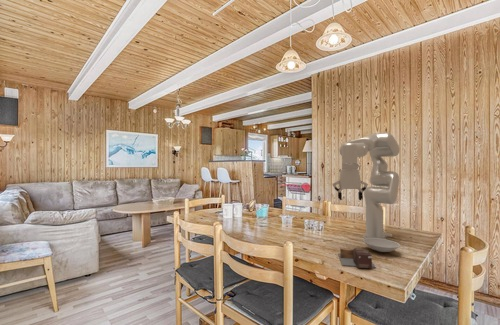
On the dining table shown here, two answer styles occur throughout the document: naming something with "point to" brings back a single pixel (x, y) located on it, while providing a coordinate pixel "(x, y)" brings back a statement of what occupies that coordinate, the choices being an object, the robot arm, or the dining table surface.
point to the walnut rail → (347, 253)
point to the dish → (381, 244)
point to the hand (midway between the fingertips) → (350, 199)
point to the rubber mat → (349, 262)
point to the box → (362, 258)
